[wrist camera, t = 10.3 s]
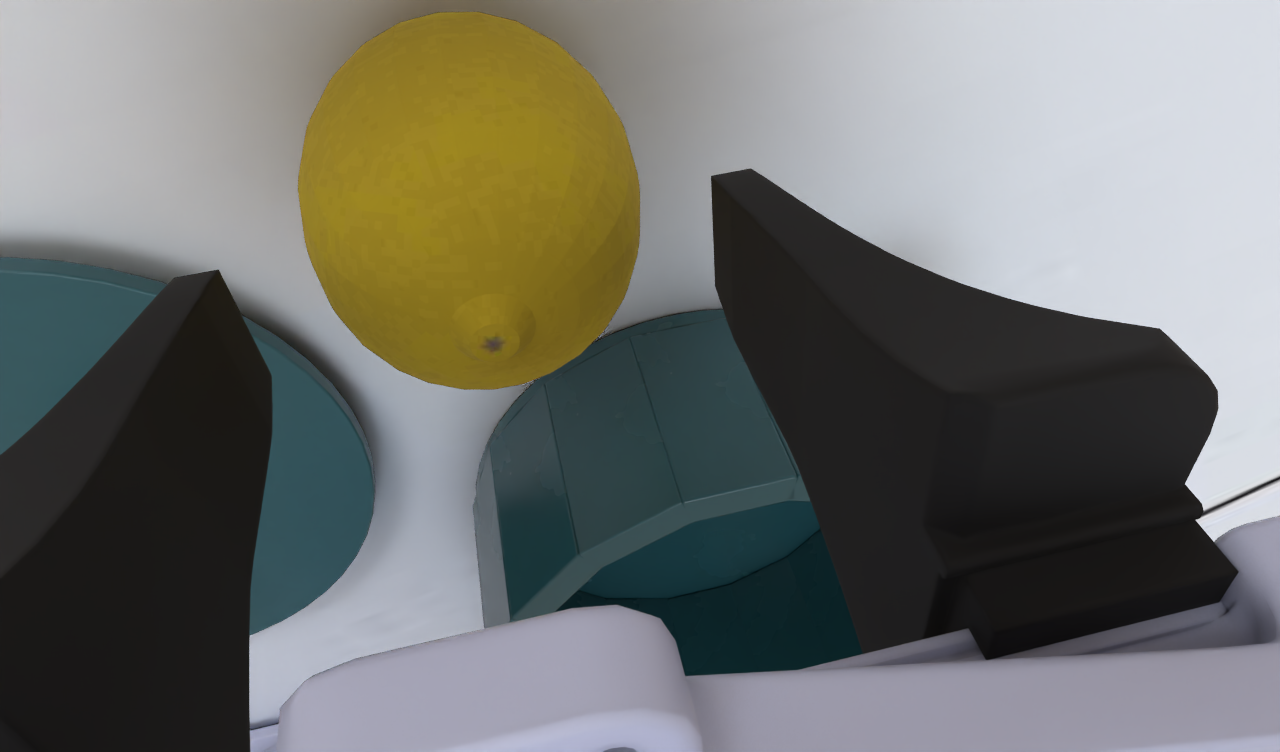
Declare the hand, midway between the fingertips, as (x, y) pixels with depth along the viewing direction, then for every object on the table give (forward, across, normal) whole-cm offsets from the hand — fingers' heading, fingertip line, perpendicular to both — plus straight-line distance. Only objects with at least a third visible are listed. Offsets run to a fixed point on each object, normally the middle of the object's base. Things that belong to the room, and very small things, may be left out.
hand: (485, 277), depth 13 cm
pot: (+6, -4, +13) cm, 15 cm away
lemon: (+7, 0, 0) cm, 7 cm away
